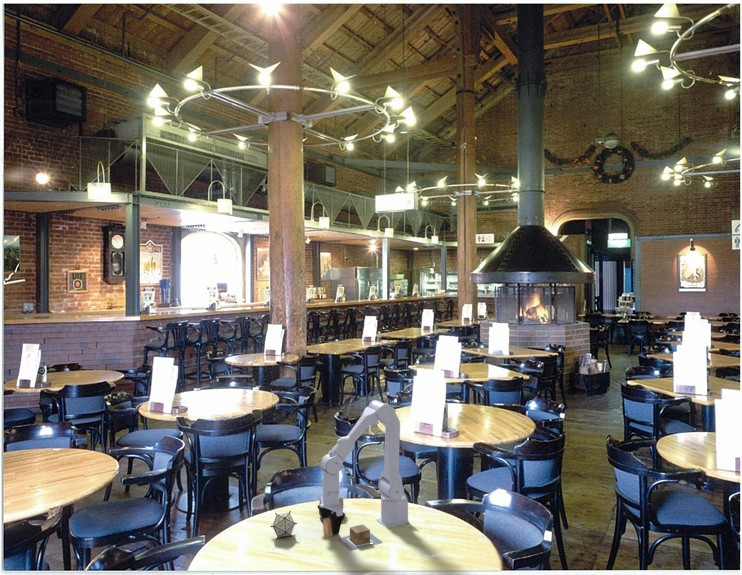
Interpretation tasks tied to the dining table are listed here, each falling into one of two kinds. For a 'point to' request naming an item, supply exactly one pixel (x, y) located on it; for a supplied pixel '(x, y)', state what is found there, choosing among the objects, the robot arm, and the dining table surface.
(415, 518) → the dining table surface
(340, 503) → the grey cylinder
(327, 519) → the terracotta block
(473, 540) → the dining table surface
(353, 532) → the walnut block
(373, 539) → the mat
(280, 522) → the game die
